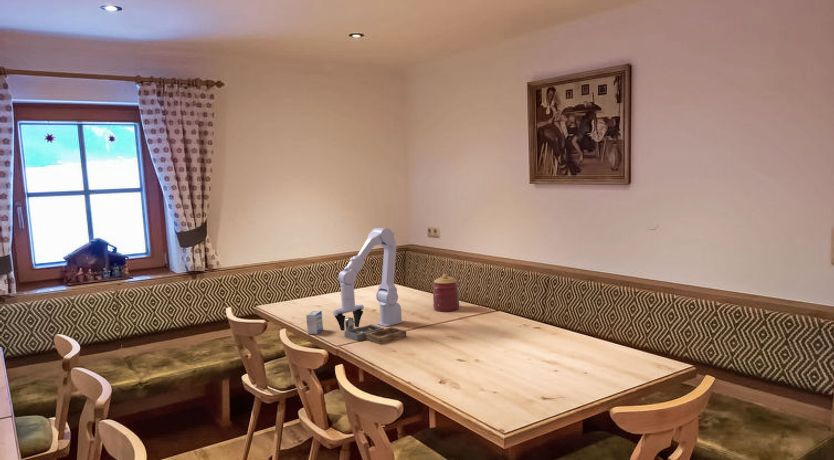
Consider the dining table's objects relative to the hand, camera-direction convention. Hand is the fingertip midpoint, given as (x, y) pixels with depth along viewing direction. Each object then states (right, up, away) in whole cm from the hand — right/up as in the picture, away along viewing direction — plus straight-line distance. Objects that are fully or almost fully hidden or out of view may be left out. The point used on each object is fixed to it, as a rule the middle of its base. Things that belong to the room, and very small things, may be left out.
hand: (349, 328), depth 262 cm
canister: (+44, +4, +35) cm, 56 cm away
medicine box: (-16, -2, +3) cm, 16 cm away
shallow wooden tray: (+16, -2, -12) cm, 20 cm away
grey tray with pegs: (+7, -2, -6) cm, 9 cm away
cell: (0, -2, 0) cm, 2 cm away
